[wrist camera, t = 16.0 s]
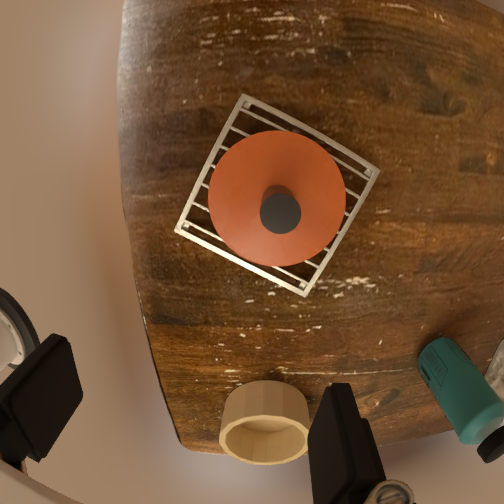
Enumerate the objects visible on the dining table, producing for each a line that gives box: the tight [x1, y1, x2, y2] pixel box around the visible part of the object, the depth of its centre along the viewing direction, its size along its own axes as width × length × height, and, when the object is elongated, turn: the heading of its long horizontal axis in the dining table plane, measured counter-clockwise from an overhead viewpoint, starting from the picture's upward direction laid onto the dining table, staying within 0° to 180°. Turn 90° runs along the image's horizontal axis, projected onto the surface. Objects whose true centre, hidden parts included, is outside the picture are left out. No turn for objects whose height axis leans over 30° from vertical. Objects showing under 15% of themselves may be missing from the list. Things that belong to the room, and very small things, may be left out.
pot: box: [219, 380, 310, 465], centre depth 36 cm, size 12×12×6 cm
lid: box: [208, 130, 346, 267], centre depth 24 cm, size 13×13×8 cm
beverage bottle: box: [418, 337, 504, 463], centre depth 25 cm, size 6×7×20 cm
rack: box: [174, 93, 381, 298], centre depth 29 cm, size 15×15×2 cm
